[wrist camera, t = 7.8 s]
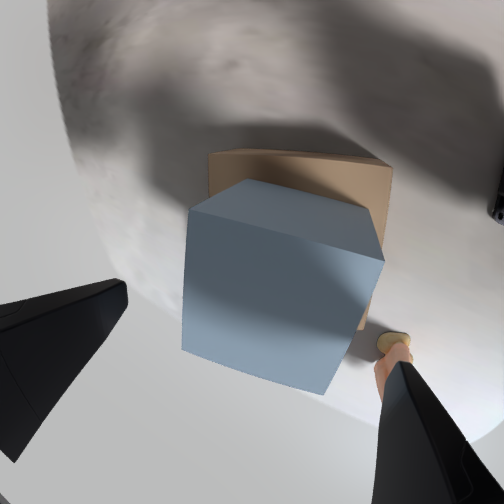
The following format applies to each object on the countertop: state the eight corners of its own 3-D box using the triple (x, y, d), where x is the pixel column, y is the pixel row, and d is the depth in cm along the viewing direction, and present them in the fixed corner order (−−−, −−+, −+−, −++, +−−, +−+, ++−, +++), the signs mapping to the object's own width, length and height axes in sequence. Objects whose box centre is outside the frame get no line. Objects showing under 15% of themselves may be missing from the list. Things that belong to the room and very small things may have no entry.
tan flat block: (379, 159, 16) (393, 167, 12) (361, 288, 20) (363, 330, 16) (240, 148, 19) (207, 153, 14) (240, 271, 22) (213, 306, 18)
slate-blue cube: (368, 209, 13) (384, 261, 8) (334, 312, 16) (323, 395, 10) (247, 178, 14) (188, 209, 9) (231, 282, 17) (181, 349, 12)
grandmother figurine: (358, 331, 21) (348, 486, 10) (404, 313, 19) (429, 468, 8) (386, 390, 22) (383, 518, 11) (426, 376, 21) (439, 506, 10)
